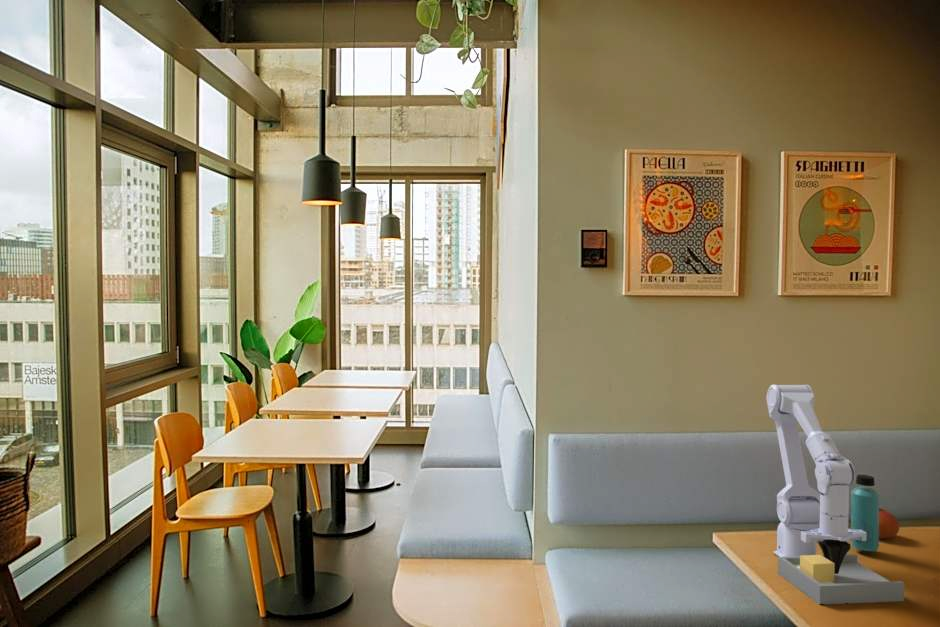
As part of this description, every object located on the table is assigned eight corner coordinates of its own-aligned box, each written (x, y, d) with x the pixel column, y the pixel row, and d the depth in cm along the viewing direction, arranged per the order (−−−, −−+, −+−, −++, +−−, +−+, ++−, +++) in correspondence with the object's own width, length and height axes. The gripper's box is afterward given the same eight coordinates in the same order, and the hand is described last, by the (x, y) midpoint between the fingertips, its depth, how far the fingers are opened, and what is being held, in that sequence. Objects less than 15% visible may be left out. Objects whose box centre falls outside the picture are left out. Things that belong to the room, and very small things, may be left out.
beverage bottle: (883, 553, 169) (885, 476, 168) (871, 559, 165) (873, 480, 164) (857, 545, 174) (858, 471, 174) (844, 551, 170) (846, 474, 170)
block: (799, 572, 151) (800, 555, 151) (820, 571, 151) (820, 554, 151) (813, 582, 146) (813, 564, 146) (834, 581, 146) (834, 563, 146)
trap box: (777, 573, 156) (778, 556, 156) (854, 570, 158) (854, 554, 158) (819, 604, 140) (820, 586, 140) (904, 601, 142) (904, 582, 142)
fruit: (905, 544, 175) (906, 514, 175) (869, 541, 177) (869, 512, 177) (890, 532, 184) (890, 504, 184) (855, 530, 186) (856, 502, 185)
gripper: (814, 519, 144) (813, 580, 144) (876, 517, 145) (875, 578, 146) (795, 509, 151) (794, 567, 151) (854, 507, 152) (853, 565, 153)
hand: (833, 572), depth 149 cm, fingers closed
